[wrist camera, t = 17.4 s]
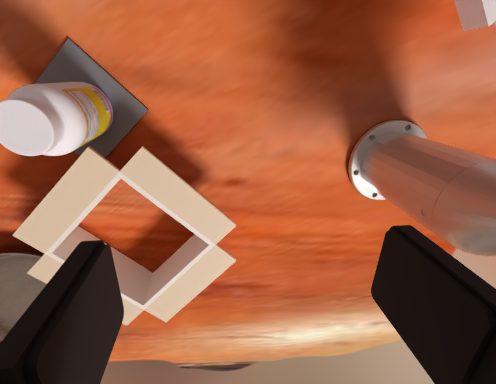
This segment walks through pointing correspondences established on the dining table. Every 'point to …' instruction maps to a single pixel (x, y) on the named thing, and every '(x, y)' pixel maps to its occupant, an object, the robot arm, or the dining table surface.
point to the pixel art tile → (476, 13)
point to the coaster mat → (87, 70)
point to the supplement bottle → (53, 118)
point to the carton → (128, 271)
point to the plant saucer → (16, 287)
